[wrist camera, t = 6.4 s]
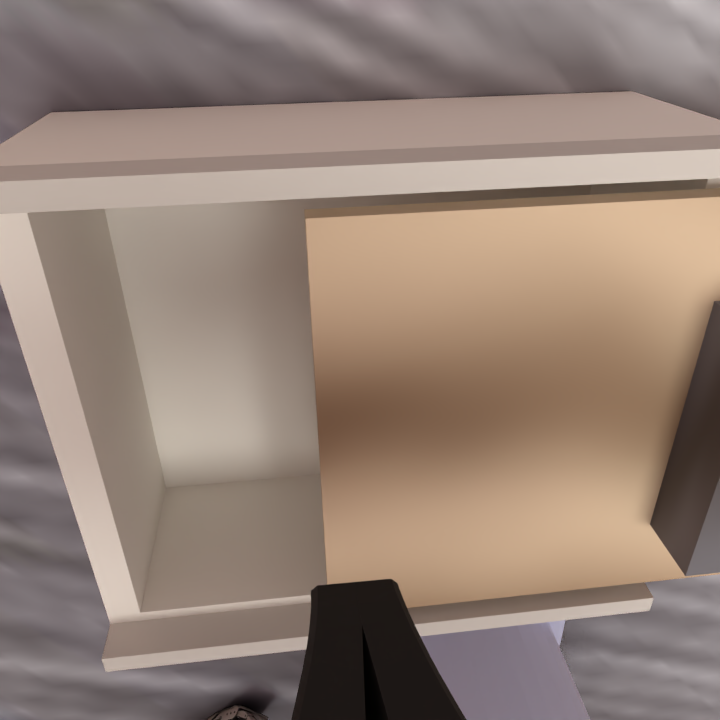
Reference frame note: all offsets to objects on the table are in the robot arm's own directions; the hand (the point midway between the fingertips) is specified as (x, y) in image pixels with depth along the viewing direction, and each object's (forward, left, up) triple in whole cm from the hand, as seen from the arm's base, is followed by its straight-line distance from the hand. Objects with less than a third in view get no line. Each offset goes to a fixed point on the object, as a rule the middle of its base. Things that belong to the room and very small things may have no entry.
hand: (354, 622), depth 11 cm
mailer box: (+1, -1, -9) cm, 9 cm away
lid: (+1, -7, -4) cm, 8 cm away
